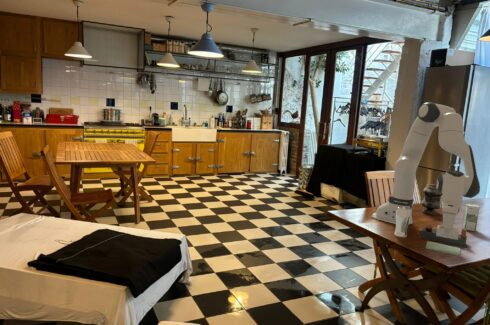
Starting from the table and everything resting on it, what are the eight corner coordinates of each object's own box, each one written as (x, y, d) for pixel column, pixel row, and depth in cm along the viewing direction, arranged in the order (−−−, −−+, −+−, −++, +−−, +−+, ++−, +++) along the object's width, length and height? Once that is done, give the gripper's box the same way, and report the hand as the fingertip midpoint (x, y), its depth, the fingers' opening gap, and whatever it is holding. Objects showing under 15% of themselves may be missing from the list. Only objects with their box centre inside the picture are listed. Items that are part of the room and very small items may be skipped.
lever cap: (436, 235, 171) (437, 226, 170) (436, 232, 175) (438, 223, 174) (457, 239, 166) (459, 230, 166) (458, 236, 171) (459, 227, 170)
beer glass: (395, 232, 192) (399, 204, 190) (409, 235, 188) (413, 207, 186) (391, 235, 187) (395, 207, 185) (405, 238, 183) (409, 210, 180)
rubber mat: (425, 248, 171) (425, 247, 171) (427, 242, 180) (427, 241, 180) (459, 256, 164) (459, 254, 164) (460, 249, 172) (460, 248, 172)
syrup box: (473, 228, 205) (477, 204, 203) (475, 232, 200) (479, 206, 197) (462, 227, 207) (466, 202, 205) (464, 230, 202) (468, 205, 200)
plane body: (420, 237, 186) (422, 222, 184) (421, 233, 192) (423, 219, 190) (465, 247, 175) (467, 231, 174) (465, 243, 181) (468, 228, 180)
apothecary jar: (439, 216, 226) (443, 188, 223) (418, 212, 232) (422, 185, 229) (441, 212, 236) (445, 185, 233) (420, 208, 242) (424, 182, 240)
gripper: (444, 199, 179) (440, 226, 181) (442, 208, 162) (438, 238, 164) (459, 202, 176) (455, 229, 178) (458, 211, 158) (453, 241, 161)
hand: (447, 233), depth 171 cm, fingers closed on lever cap, 5 cm apart
